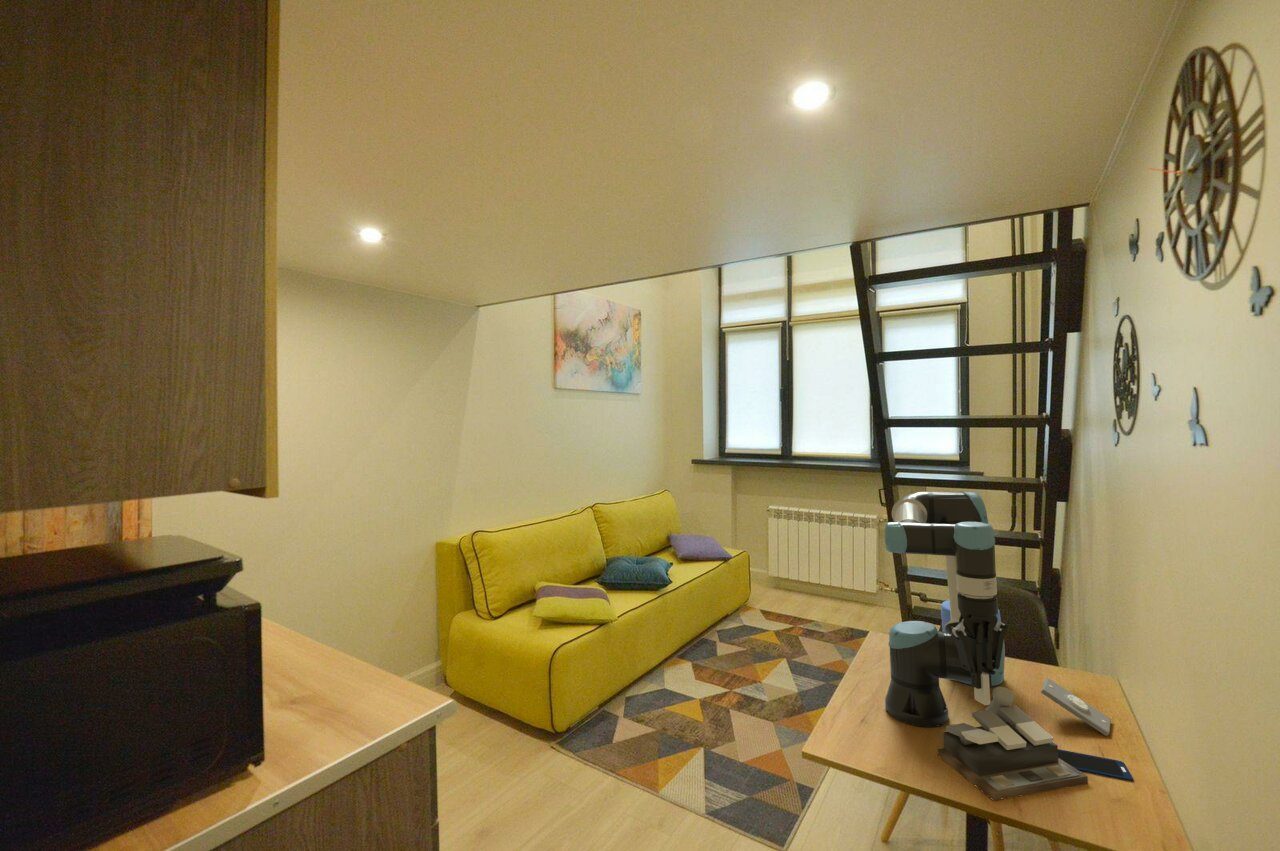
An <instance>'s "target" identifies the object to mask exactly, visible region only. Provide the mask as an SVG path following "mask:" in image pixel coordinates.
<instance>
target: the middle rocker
mask: <svg viewBox="0 0 1280 851" xmlns="http://www.w3.org/2000/svg"><path fill="white" fill-rule="evenodd" d="M971 717H972V718H973V719H974V720H975V721H976V722H977V723H978V724H979V726H982V727H983V728H984V729H985V731H987V732H990V733H993V734H996V735H997V736H998V740H999V741H998V742H999V743H1000V744H1001V745H1002V746H1003V747H1004V748H1005V749H1006V750H1011V749H1017V748H1023V747H1026V743H1027V742H1026V741H1025V740H1023V739H1022V738H1021V737H1020V736H1019V735H1018V734H1017V733H1016V732H1015V731H1014V730H1012V729H1011V728H1010V727H1009V726H1008V725H1007V724H1006V723H1005V722H1004V721H1003V720H1001V719H1000V718H999V717H998V716H997V715H996V714H995V713H994V712H993V711H992V710H990V709H989V710H986V709H983V710H976V711H972V712H971Z"/></svg>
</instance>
